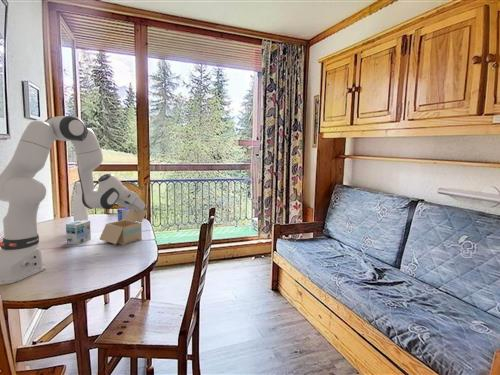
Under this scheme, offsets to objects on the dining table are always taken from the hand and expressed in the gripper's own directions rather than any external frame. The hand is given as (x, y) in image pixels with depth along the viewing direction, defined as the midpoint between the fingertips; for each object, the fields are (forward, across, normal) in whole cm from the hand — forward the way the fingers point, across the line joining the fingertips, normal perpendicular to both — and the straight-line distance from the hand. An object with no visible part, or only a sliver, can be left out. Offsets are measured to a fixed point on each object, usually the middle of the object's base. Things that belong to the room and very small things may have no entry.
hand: (137, 211), depth 179 cm
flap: (0, 0, -1) cm, 1 cm away
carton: (+3, 0, -19) cm, 19 cm away
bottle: (+1, -34, -20) cm, 39 cm away
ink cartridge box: (+17, -21, -4) cm, 28 cm away
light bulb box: (-7, -17, -29) cm, 34 cm away
